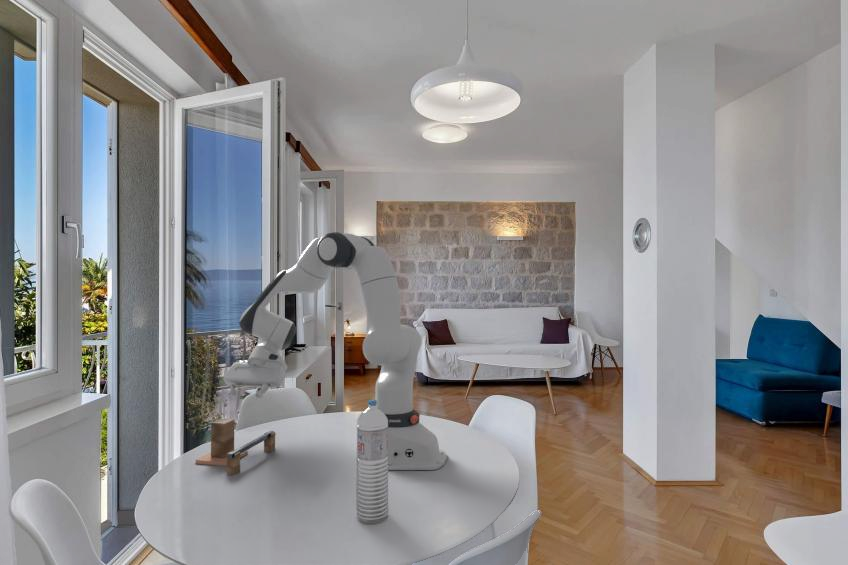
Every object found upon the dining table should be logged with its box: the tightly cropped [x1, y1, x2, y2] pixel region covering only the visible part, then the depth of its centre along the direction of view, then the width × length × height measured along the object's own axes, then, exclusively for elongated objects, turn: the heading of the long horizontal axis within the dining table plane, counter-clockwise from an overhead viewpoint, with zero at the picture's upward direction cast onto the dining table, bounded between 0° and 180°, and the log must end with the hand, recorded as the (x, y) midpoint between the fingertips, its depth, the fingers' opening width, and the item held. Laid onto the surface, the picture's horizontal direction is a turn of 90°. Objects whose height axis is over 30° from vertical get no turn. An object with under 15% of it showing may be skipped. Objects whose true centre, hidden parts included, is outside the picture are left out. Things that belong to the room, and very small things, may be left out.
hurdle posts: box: [226, 431, 276, 476], centre depth 130 cm, size 3×20×5 cm, turn 168°
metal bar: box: [228, 430, 275, 459], centre depth 130 cm, size 1×21×1 cm, turn 168°
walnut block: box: [210, 418, 235, 458], centre depth 132 cm, size 4×4×10 cm
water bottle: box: [356, 399, 389, 525], centre depth 97 cm, size 7×7×25 cm
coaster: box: [195, 450, 248, 467], centre depth 132 cm, size 10×10×1 cm
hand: (244, 396), depth 143 cm, fingers open, 8 cm apart
